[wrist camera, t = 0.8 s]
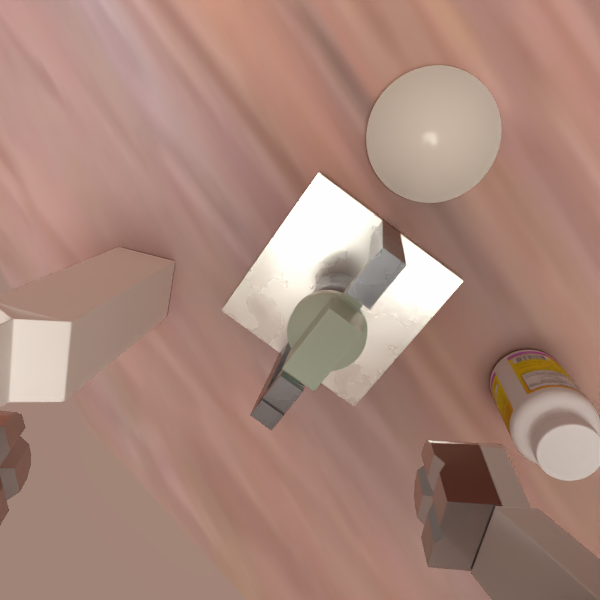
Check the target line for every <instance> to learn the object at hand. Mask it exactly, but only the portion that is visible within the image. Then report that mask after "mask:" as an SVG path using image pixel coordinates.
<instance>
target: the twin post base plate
mask: <svg viewBox="0 0 600 600" xmlns="http://www.w3.org/2000/svg"><path fill="white" fill-rule="evenodd" d="M365 264H366V266H365V267H364V265H365ZM363 267H364V268H363ZM362 268H363V269H362ZM361 269H362V271H361V272H360V270H361ZM359 272H360V273H359ZM358 273H359V274H358ZM357 274H358V276H357V277H356V275H357ZM355 277H356V278H355ZM354 278H355V280H354V281H353V282H352V280H353V279H354ZM351 282H352V283H351ZM462 282H463V280H462V278H461V277H460V276H458V275H457V274H456V273H454V272H453V271H452V270H450V269H449V268H448V267H446V266H445V265H444V264H442V263H441V262H440V261H438V260H437V259H436V258H434V257H433V256H432V255H430V254H429V253H428V252H426V251H425V250H424V249H422V248H421V247H420V246H418V245H417V244H416V243H414V242H413V241H412V240H410V239H409V238H408V237H406V236H405V235H404V234H402V233H401V232H400V231H398V230H397V229H396V228H394V227H393V226H392V225H390V224H389V223H388V222H386V221H385V220H384V219H382V218H381V217H380V216H378V215H377V214H376V213H374V212H373V211H372V210H370V209H369V208H368V207H366V206H365V205H364V204H362V203H361V202H360V201H358V200H357V199H356V198H354V197H353V196H352V195H350V194H349V193H348V192H346V191H345V190H344V189H342V188H341V187H340V186H338V185H337V184H336V183H334V182H333V181H332V180H330V179H329V178H328V177H326V176H325V175H324V174H322V173H321V172H319V173H318V174H317V176H316V177H315V178H314V180H313V181H312V183H311V184H310V185H309V187H308V188H307V190H306V191H305V193H304V194H303V195H302V197H301V198H300V200H299V201H298V202H297V204H296V205H295V207H294V208H293V210H292V211H291V212H290V214H289V215H288V217H287V218H286V219H285V221H284V222H283V224H282V225H281V227H280V228H279V229H278V231H277V232H276V234H275V235H274V236H273V238H272V239H271V241H270V242H269V244H268V245H267V246H266V248H265V249H264V251H263V252H262V253H261V255H260V256H259V258H258V259H257V261H256V262H255V263H254V265H253V266H252V268H251V269H250V270H249V272H248V273H247V275H246V276H245V278H244V279H243V280H242V282H241V283H240V285H239V286H238V287H237V289H236V290H235V292H234V293H233V295H232V296H231V297H230V299H229V300H228V302H227V303H226V304H225V306H224V307H223V309H222V310H221V311H223V312H224V313H225V314H227V315H228V316H230V317H231V318H232V319H234V320H235V321H237V322H238V323H239V324H241V325H242V326H243V327H245V328H246V329H248V330H249V331H250V332H252V333H253V334H254V335H256V336H257V337H259V338H260V339H261V340H263V341H264V342H265V343H267V344H268V345H270V346H271V347H272V348H274V349H275V350H276V351H278V352H279V353H280V354H279V356H278V358H277V360H276V362H275V364H274V366H273V368H272V371H271V373H270V375H269V377H268V379H267V381H266V383H265V385H264V387H263V389H262V391H261V393H260V395H259V398H258V400H257V402H256V404H255V406H254V408H253V410H252V412H251V414H250V415H251V416H252V417H254V418H255V419H256V420H258V421H259V422H261V423H262V424H263V425H265V426H266V427H268V428H269V429H270V430H272V429H273V428H274V427H275V426H276V424H277V423H278V422H279V421H280V420H281V418H282V417H283V416H284V414H285V413H286V411H287V410H288V409H289V408H290V407H291V405H292V404H293V403H294V402H295V400H296V399H297V398H298V397H299V396H300V394H301V393H302V392H303V389H304V385H302V384H301V383H300V382H298V381H297V380H296V379H294V378H293V377H291V376H290V375H289V374H287V373H286V372H284V371H282V368H283V365H284V363H285V361H286V358H287V356H288V354H289V352H290V350H291V347H290V345H289V342H288V338H287V326H288V322H289V319H290V316H291V314H292V312H293V311H294V309H295V307H296V306H297V304H298V303H299V302H300V301H301V300H302V299H303V298H304V297H306V296H307V295H309V294H311V293H313V292H316V291H321V290H334V291H339V292H342V293H343V292H344V291H345V289H346V288H347V287H348V286H349V284H350V283H351V285H350V286H349V287H348V288H347V292H346V293H348V294H349V295H350V296H352V297H353V298H354V299H356V300H357V301H358V302H360V303H361V304H362V305H363V306H362V307H361V308H362V310H363V312H364V313H365V316H366V320H367V327H368V329H367V340H366V345H365V348H364V350H363V352H362V354H361V355H360V356H359V358H358V359H357V360H356V361H355V362H353V363H352V364H351V365H349V366H347V367H345V368H343V369H339V370H335V371H331V372H330V373H329V374H328V376H327V377H326V378H325V379H324V381H323V382H322V384H323V385H325V386H326V387H328V388H329V389H330V390H332V391H333V392H334V393H336V394H337V395H339V396H340V397H341V398H343V399H344V400H345V401H347V402H348V403H350V404H351V405H352V406H354V407H355V405H356V404H357V403H358V402H359V401H360V400H361V398H362V397H363V396H364V395H365V394H366V393H367V392H368V390H369V389H370V388H371V387H372V386H373V385H374V383H375V382H376V381H377V380H378V379H379V378H380V377H381V375H382V374H383V373H384V372H385V371H386V370H387V369H388V367H389V366H390V365H391V364H392V363H393V362H394V360H395V359H396V358H397V357H398V356H399V355H400V354H401V352H402V351H403V350H404V349H405V348H406V347H407V345H408V344H409V343H410V342H411V341H412V340H413V339H414V337H415V336H416V335H417V334H418V333H419V332H420V331H421V329H422V328H423V327H424V326H425V325H426V324H427V322H428V321H429V320H430V319H431V318H432V317H433V316H434V314H435V313H436V312H437V311H438V310H439V309H440V307H441V306H442V305H443V304H444V303H445V302H446V301H447V299H448V298H449V297H450V296H451V295H452V294H453V293H454V291H455V290H456V289H457V288H458V287H459V286H460V284H461V283H462ZM281 371H282V372H281ZM280 372H281V374H280V375H279V373H280ZM278 375H279V376H278Z"/></svg>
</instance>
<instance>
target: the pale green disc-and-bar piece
mask: <svg viewBox="0 0 600 600" xmlns="http://www.w3.org/2000/svg"><path fill="white" fill-rule="evenodd" d="M365 266H366V264H365V265H364V267H365ZM364 267H363V268H364ZM363 268H362V269H363ZM362 269H361V270H360V272H361V271H362ZM360 272H359V273H360ZM359 273H358V274H359ZM358 274H357V275H356V277H357V276H358ZM356 277H355V278H356ZM355 278H354V279H353V280H352V282H353V281H354V280H355ZM352 282H351V283H352ZM351 283H350V284H349V286H350V285H351ZM349 286H348V287H349ZM348 287H347V288H348ZM347 288H346V289H345V291H344V292H343V293H342V292H339V291H334V290H321V291H316V292H313V293H311V294H309V295H307V296H306V297H304V298H303V299H302V300H301V301H300V302H299V303H298V304H297V306H296V307H295V309H294V311H293V312H292V314H291V316H290V319H289V322H288V326H287V338H288V342H289V345H290V347H291V350H290V352H289V354H288V356H287V358H286V361H285V363H284V365H283V368H282V371H284V372H286V373H287V374H289V375H290V376H291V377H293V378H294V379H296V380H297V381H298V382H300V383H301V382H302V383H303V384H304V385H306V386H307V387H308V388H310V389H311V390H313V391H315V390H316V389H317V388H318V387H319V385H320V384H321V383H322V382H323V381H324V379H325V378H326V377H327V376H328V374H329V373H330V372H331V371H335V370H339V369H343V368H345V367H347V366H349V365H351V364H352V363H353V362H355V361H356V360H357V359H358V358H359V356H360V355H361V354H362V352H363V350H364V348H365V345H366V340H367V329H368V327H367V320H366V316H365V313H364V312H363V310H362V308H361V307H362V306H363V305H362V304H361V303H360V302H358V301H357V300H356V299H354V298H353V297H352V296H350V295H349V294H348V293H346V292H347ZM282 371H281V372H282ZM281 372H280V373H279V375H280V374H281ZM279 375H278V376H279Z"/></svg>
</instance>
